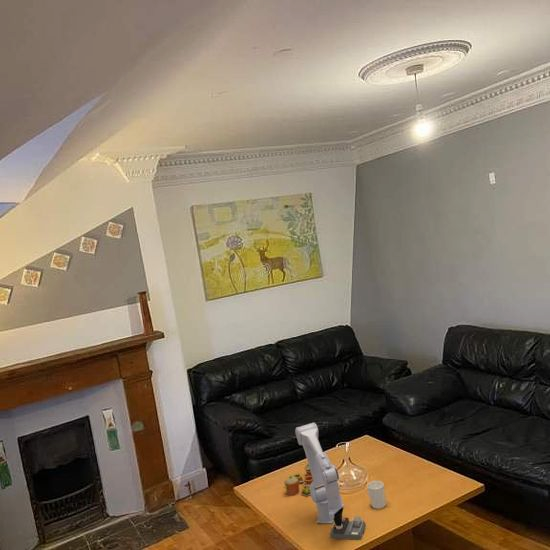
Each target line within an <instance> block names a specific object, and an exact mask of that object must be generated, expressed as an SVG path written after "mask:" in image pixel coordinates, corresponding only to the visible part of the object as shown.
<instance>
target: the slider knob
mask: <svg viewBox="0 0 550 550" xmlns="http://www.w3.org/2000/svg"><path fill="white" fill-rule="evenodd" d="M352 521H353V525H354V527H360V526H361V523H362V521H363V519H362V517H361V516H354V517H353V519H352Z"/></svg>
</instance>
